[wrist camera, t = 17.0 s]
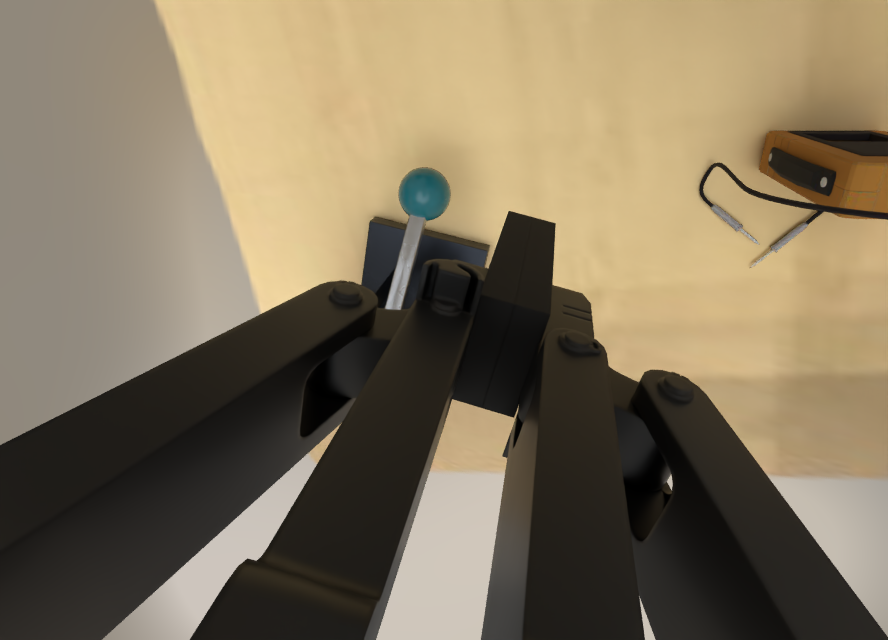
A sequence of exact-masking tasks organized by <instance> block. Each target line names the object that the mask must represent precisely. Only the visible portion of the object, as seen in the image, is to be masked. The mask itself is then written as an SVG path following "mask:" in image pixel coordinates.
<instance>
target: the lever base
mask: <svg viewBox="0 0 888 640" xmlns="http://www.w3.org/2000/svg"><path fill="white" fill-rule="evenodd" d="M406 227H407V225H406V224H402V223H398V222H394V221H390V220H386V219H382V218H378V217H374V218H373V219H372V220H371V221H370V224H369V231H368V239H367V247H366V254H365V262H364V269H363V277H362V286H364V287H366V288H368V289H370V290H371V291H373V292H374V294H375V295H376V296H377V298H378V305H377V308H384V309H385V306H386V302H387V299H388V295H389V291H390V287H391V284H392V280H393V276H394V272H395V269H396V265H397V261H398V257H399V254H400V250H401V246H402V242H403V239H404V235H405V231H406ZM489 248H490V246H489V245H486V244H482V243H478V242H474V241H470V240H466V239H462V238H458V237H454V236H450V235H446V234H442V233H438V232H434V231H430V230H426V229H424V233H423V236H422V240H421V244H420V248H419V252H418V255H417V259H416V263H415V267H414V270H413V274H412V278H411V282H410V285H409V289H408V293H407V297H406V300H405V304H404V308H403V309H409V308H411V306H412V304H413V303H414V301H415V299H416V295H417V290H418V286H419V281H420V276H421V272H422V267H423V264H424V263H425V262H427V261H428V260H433V259H449V260H454V259H456V260H459V261H463V262H466V263H470V264H474V265H477V266H481V267H484V268H485V264H486V260H487V256H488V252H489Z"/></svg>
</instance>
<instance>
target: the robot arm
mask: <svg viewBox="0 0 888 640" xmlns="http://www.w3.org/2000/svg"><path fill="white" fill-rule="evenodd" d="M555 224H556V223H552V222H548V221H545V220H541V219H537V218H533V217H530V216H526V215H522V214H519V213H515V212H511V211H509V212H508V215H507V218H506V220H505V223H504V226H503V229H502V232H501V235H500V238H499V240H498V243H497V246H496V249H495V252H494V255H493V257H492V260H491V263H490V266H489V269H488V268H484V267H481V266H477V265H474V264H470V263H466V262H463V261H459V260H456V259H454V260H449V259H433V260H428V261H427V262H425V263H424V264H423V267H422V272H421V276H420V281H419V286H418V290H417V295H416V299H415V301H414V303H413V304H412V306H411V308H409V309H401V310H396V309H384V308H377V305H378V298H377V296H376V295H375V294H374V292H373V291H371V290H370V289H368V288H366V287H364V286H362V285H358V284H356V283H355V282H350V281H348V282H347V281H335V282H327V283H324V284H320V285H318V286H316V287H314V288H312V289H310V290H308V291H306V292H304V293H302V294H300V295H298V296H296V297H294V298H292V299H290V300H288V301H286V302H284V303H282V304H280V305H278V306H276V307H274V308H272V309H270V310H268V311H266V312H264V313H262V314H260V315H259V316H256V317H255V318H252V319H251V320H248V321H247V322H244V323H243V324H241V325H239V326H237V327H235V328H233V329H231V330H229V331H227V332H225V333H223V334H221V335H219V336H217V337H215V338H213V339H211V340H209V341H207V342H205V343H203V344H201V345H199V346H197V347H195V348H193V349H191V350H189V351H187V352H185V353H183V354H181V355H179V356H177V357H175V358H173V359H171V360H169V361H167V362H165V363H163V364H161V365H159V366H157V367H155V368H153V369H151V370H149V371H147V372H145V373H143V374H141V375H139V376H137V377H135V378H133V379H131V380H129V381H127V382H125V383H123V384H121V385H119V386H117V387H115V388H113V389H111V390H109V391H107V392H105V393H103V394H101V395H99V396H97V397H95V398H93V399H91V400H89V401H87V402H85V403H83V404H81V405H79V406H77V407H75V408H73V409H71V410H70V411H67V412H66V413H63V414H61V415H60V416H58V417H55V418H54V419H51V420H49V421H48V422H46V423H43V424H42V425H40V426H38V427H36V428H34V429H32V430H30V431H28V432H26V433H24V434H22V435H20V436H18V437H16V438H14V439H12V440H10V441H8V442H6V443H4V444H2V445H0V640H102V639H103V638H104V637H105V636H106V635H107V634H108V633H110V632H111V631H112V630H113V629H114V628H115V627H116V626H117V625H118V624H119V623H121V622H122V621H123V620H124V619H125V618H126V617H127V616H128V615H129V614H130V613H132V612H133V611H134V610H135V609H136V608H137V607H138V606H139V605H141V604H142V603H143V602H144V601H145V600H146V599H147V598H148V597H149V596H150V595H152V594H153V593H154V592H155V591H156V590H157V589H158V588H159V587H160V586H162V585H163V584H164V583H165V582H166V581H167V580H168V579H169V578H170V577H171V576H173V575H174V574H175V573H176V572H177V571H178V570H179V569H180V568H181V567H182V566H184V565H185V564H186V563H187V562H188V561H189V560H190V559H191V558H192V557H194V556H195V555H196V554H197V553H198V552H199V551H200V550H201V549H202V548H204V547H205V546H206V545H207V544H208V543H209V542H210V541H211V540H212V539H213V538H215V537H216V536H217V535H218V534H219V533H220V532H221V531H222V530H223V529H225V527H227V526H228V525H229V524H230V523H231V522H232V521H233V520H234V519H235V518H237V517H238V516H239V515H240V514H241V513H242V512H243V511H244V510H245V509H247V508H248V507H249V506H250V505H251V504H252V503H253V502H254V501H255V500H257V499H258V498H259V497H260V496H261V495H262V494H263V493H264V492H265V491H266V490H267V489H269V488H270V487H271V486H272V485H273V484H274V483H275V482H276V481H277V480H278V479H280V478H281V477H282V476H283V475H284V474H285V473H286V472H287V471H289V470H290V469H291V468H292V467H293V466H294V465H295V464H296V463H297V462H299V461H300V460H301V459H302V458H303V457H304V456H305V455H306V454H307V453H309V452H310V451H311V450H312V449H313V448H314V447H315V446H316V445H317V444H319V443H320V442H321V441H322V440H323V439H324V438H325V437H326V436H327V435H328V434H330V433H331V432H332V431H333V430H334V429H335V428H336V427H337V426H338V425H340V424H341V423H342V424H341V425H340V427H339V429H338V430H337V432H336V434H335V435H334V437H333V439H332V440H331V442H330V444H329V445H328V447H327V449H326V450H325V452H324V454H323V455H322V457H321V459H320V460H319V462H318V464H317V466H316V467H315V469H314V471H313V472H312V474H311V476H310V477H309V479H308V481H307V483H306V484H305V486H304V488H303V489H302V491H301V492H300V494H299V496H298V498H297V499H296V501H295V502H294V504H293V506H292V508H291V509H290V511H289V513H288V515H287V516H286V518H285V519H284V521H283V523H282V524H281V526H280V528H279V529H278V531H277V533H276V535H275V536H274V538H273V540H272V541H271V543H270V544H269V546H268V548H267V549H266V551H265V552H264V554H263V555H262V556H261V557H260V558H259V559H258V560H257V561H255V560H251V559H246V560H245V561H244V562H243V563H242V564H240V565H239V566H238V567H237V568H236V570H235V571H234V572H233V574H232V575H231V577H230V578H229V579H228V581H227V582H226V583H225V585H224V587H223V588H222V590H221V591H220V593H219V594H218V596H217V598H216V599H215V601H214V602H213V604H212V606H211V607H210V609H209V610H208V612H207V613H206V615H205V617H204V618H203V620H202V621H201V623H200V624H199V626H198V628H197V629H196V631H195V632H194V634H193V636H192V637H191V639H190V640H376V638H377V634H378V631H379V628H380V625H381V622H382V619H383V616H384V613H385V609H386V606H387V603H388V600H389V597H390V594H391V590H392V587H393V584H394V581H395V578H396V575H397V572H398V568H399V565H400V562H401V559H402V556H403V553H404V550H405V547H406V543H407V540H408V537H409V534H410V531H411V528H412V524H413V521H414V518H415V515H416V512H417V509H418V506H419V502H420V499H421V496H422V493H423V490H424V487H425V484H426V481H427V478H428V474H429V471H430V468H431V465H432V462H433V459H434V456H435V452H436V449H437V446H438V443H439V440H440V437H441V434H442V430H443V427H444V424H445V421H446V418H447V415H448V412H449V408H450V404H451V401H452V399H454V400H457V401H461V402H464V403H467V404H471V405H474V406H477V407H481V408H484V409H487V410H491V411H494V412H497V413H500V414H504V415H507V416H510V417H514V416H515V414H516V411H517V408H518V405H519V409H518V413H517V416H516V419H515V422H514V425H513V427H512V430H511V433H510V436H509V439H508V442H507V444H506V447H505V450H504V453H503V457H506V458H507V457H508V458H507V465H506V471H505V478H504V485H503V492H502V499H501V506H500V513H499V520H498V526H497V533H496V540H495V547H494V554H493V561H492V568H491V574H490V581H489V588H488V595H487V602H486V609H485V616H484V622H483V629H482V636H481V640H645V637H644V629H643V622H642V614H641V607H640V599H639V596H640V598H641V601H642V604H643V607H644V609H645V612H646V615H647V617H648V620H649V622H650V626H651V628H652V631H653V633H654V636H655V639H656V640H888V637H887V635H886V634H885V633H884V632H883V630H882V629H881V628H880V626H879V625H878V624H877V622H876V621H875V619H874V618H873V617H872V615H871V614H870V613H869V611H868V610H867V609H866V607H865V606H864V605H863V603H862V602H861V601H860V599H859V598H858V597H857V595H856V594H855V593H854V591H853V590H852V589H851V587H850V586H849V585H848V583H847V582H846V581H845V579H844V578H843V577H842V575H841V574H840V573H839V571H838V570H837V569H836V567H835V566H834V565H833V563H832V562H831V561H830V559H829V558H828V557H827V555H826V554H825V553H824V551H823V550H822V549H821V547H820V546H819V545H818V543H817V542H816V541H815V539H814V538H813V537H812V535H811V534H810V533H809V531H808V530H807V528H806V527H805V526H804V524H803V523H802V522H801V520H800V519H799V518H798V516H797V515H796V514H795V512H794V511H793V510H792V508H791V507H790V506H789V504H788V503H787V502H786V501H785V499H784V498H783V496H781V494H780V492H779V491H778V490H777V488H776V487H775V486H774V484H773V483H772V482H771V480H770V479H769V478H768V476H767V475H766V474H765V472H764V471H763V470H762V468H761V467H760V466H759V464H758V463H757V462H756V460H755V459H754V458H753V456H752V455H751V454H750V452H749V451H748V450H747V448H746V447H745V446H744V444H743V443H742V442H741V440H740V439H739V438H738V436H737V435H736V434H735V432H734V431H733V430H732V428H731V427H730V426H729V424H728V423H727V422H726V420H725V419H724V418H723V416H722V415H721V413H720V412H719V411H718V409H717V408H716V407H715V405H714V404H713V403H712V401H711V400H710V399H709V397H708V396H707V395H706V394H705V393H704V392H703V391H702V390H701V389H700V388H699V387H698V386H697V385H695V384H694V383H692V382H691V381H690V380H689V379H688V378H686V377H684V376H680V375H679V374H677V373H674V372H667V371H663V370H650V371H647V372H644V374H643V376H642V378H641V380H640V382H637V381H634V380H632V379H630V378H628V377H626V376H624V375H622V374H620V373H618V372H616V371H614V370H613V369H612V368H610V367H609V366H608V359H607V353H606V351H605V348H604V347H603V346H602V345H601V344H600V343H599V342H598V341H597V340H596V339H594V331H593V322H592V315H591V313H592V311H591V303H590V302H589V301H588V300H587V299H586V297H585V296H584V295H583V294H582V293H579V292H575V291H572V290H568V289H565V288H561V287H557V286H554V285H552V279H553V261H554V242H555ZM670 475H672V480H673V487H672V490H671V489H670V487H669V485H668V483H667V480H668V478H669V477H670Z"/></svg>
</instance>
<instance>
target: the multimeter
mask: <svg viewBox="0 0 888 640" xmlns="http://www.w3.org/2000/svg"><path fill="white" fill-rule="evenodd" d="M716 166H718V167H721V168H722V169H723V170H724V171H725V172H726V173H727V174H728V175H729V176H730V177H731V178H732V179H733V180H734V181H735V182H736V184H737V185H738V186H739V187H741V188H742V189H743V190H744V191H746V192H747V193H749V194H751V195H754V196H756V197H759V198H762V199H765V200H769V201H773V202H777V203H781V204H785V205H790V206H795V207H800V208H806V209H812V210H818V212H817V213H816V214H814V215H813V216H812V217H811V218H809V219H808V220H807V221H806V222H804V223H802V224H800V225H799V226H797V227H796V228H795V229H793V230H792V231H791V232H789V233H788V234H787V235H786V236H784V237H783V238H782V239H781V240H779V241H778V242H777V243H776V244H774V245H773V246H770V247H771V248H772V249H771V250H770V251H769V252H767V253H766V254H765V255H763V256H762V257H761V258H760V259H758V260H757V261H756V262H755V263H753V264H752V266H751V267H753V266H755V265H756V264H758V263H759V262H760V261H761V260H763V259H764V258H765V257H767V256H768V255H769V254H770V253H772V252H773V251H775V252H777V251H778V250H779V249H780V248H781V247H783V246H784V245H785V244H786V243H788V242H789V241H790V240H791V239H793V238H794V237H795V236H797V235H798V234H799V233H800V232H802V231H803V230H804V229H805V228H806V227H807V226H808V224H809V223H810V222H812V221H813V220H814V219H815V218H816V217H818V216H819V215H820V214H822V213H823V212H831V213H833V214H835V215H837V216H839V217H844V218H856V219H887V220H888V132H886V131H770V132H769V133H768V134H767V136H766V141H765V145H764V150H763V154H762V158H761V163H760V167H759V170H760V172H762V173H764V174H766V175H767V176H769V177H771V178H772V179H774V180H776V181H777V182H779V183H781V184H783V185H784V186H786V187H788V188H789V189H791V190H793V191H795V192H796V193H798V194H800V195H802V196H803V197H805V198H807V199H809V200H810V201H812V202H814V203H816V204H812V203H805V202H800V201H794V200H789V199H784V198H780V197H775V196H771V195H767V194H764V193H760V192H757V191H755V190H752V189H750V188H749V187H747V186H745V185H744V184H743V183H742V182H741V181H740V180H739V179H738V178H737V177H736V176H735V175H734V174H733V173H732V172H731V171H730V170H729V169H728V168H727V167H726V166H725V165H723V164H722V163H714V164H713V165H711V166H710V168H709V169H708V170H707V172H706V174H705V175H704V177H703V179H702V181H701V184H700V189H699V191H700V195H701V197H702V199H703V200H704V201H705V202H706V203H707V204H708V205H709V206H710V207H711V209H712V210H713V211H714V212H715V213H716V214H717V215H718V216H719V217H721V218H722V219H723V220H724V221H725V222H727V223H728V224H729V225H730V226H732V227H733V228H734V229H735V231H739V230H740V231H741V232H742V233H743V234H745V235H746V236H747V237H748V238H750V239H751V240H752V241H753V242H754V243H757V244H759V243H758V242H757V241H756V240H755V239H754V238H753V237H752V236H750V235H749V234H748V233H747V232H746V231H744V230H743V229H742V227H743V225H742V224H739V223H738V222H737V221H736V220H734V219H733V218H732V217H731V216H730V215H728V214H727V213H726V212H725V211H723V210H722V209H721V208H720V207H718V206H716V205H714V204H712V203H711V202H710V201H709V200H708V199H707V198H706V197H705V196H704V193H703V186H704V183H705V181H706V179H707V177H708V176H709V174H710V172H711V171H712V170H713V168H715V167H716ZM751 267H750V268H751Z"/></svg>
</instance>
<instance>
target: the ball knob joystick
mask: <svg viewBox="0 0 888 640" xmlns="http://www.w3.org/2000/svg"><path fill="white" fill-rule="evenodd" d="M450 196H451V193H450V187H449V184H448V182H447V180H446V178H445V177H444V176H443V175H442V174H441V173H440V172H438V171H437V170H435V169H432V168H428V167H422V168H417V169H414V170H412V171H410V172H409V173H408V174H407V175H406V176H405V177H404V178H403V180H402V181H401V184H400V186H399V201H400V204H401V206H402V208H403V210H404V211H405V212H406V213H407V214H408V215H409V220H408V224H407V227H406V231H405V235H404V239H403V242H402V246H401V250H400V254H399V257H398V261H397V265H396V269H395V272H394V276H393V280H392V284H391V287H390V291H389V295H388V299H387V302H386V306H385V309H396V310H401V309H403V308H404V304H405V300H406V297H407V293H408V289H409V285H410V282H411V278H412V274H413V270H414V267H415V263H416V259H417V255H418V252H419V248H420V244H421V240H422V236H423V233H424V229H425V225H426V221H428V220H433V219H435V218H437V217H439V216H440V215H441V214H443V212H444V211H445V210H446V208H447V207H448V205H449V202H450Z"/></svg>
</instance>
